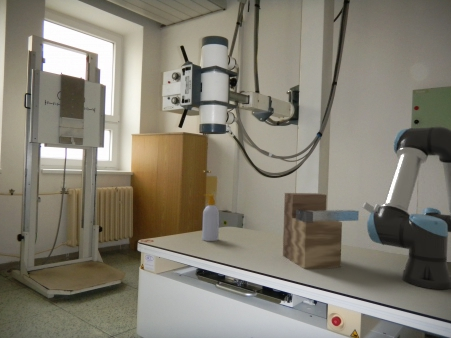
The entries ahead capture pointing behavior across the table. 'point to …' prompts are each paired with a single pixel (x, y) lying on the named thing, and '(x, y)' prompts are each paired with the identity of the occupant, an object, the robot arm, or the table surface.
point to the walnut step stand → (310, 234)
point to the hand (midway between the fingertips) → (369, 205)
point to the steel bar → (326, 215)
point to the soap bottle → (210, 221)
